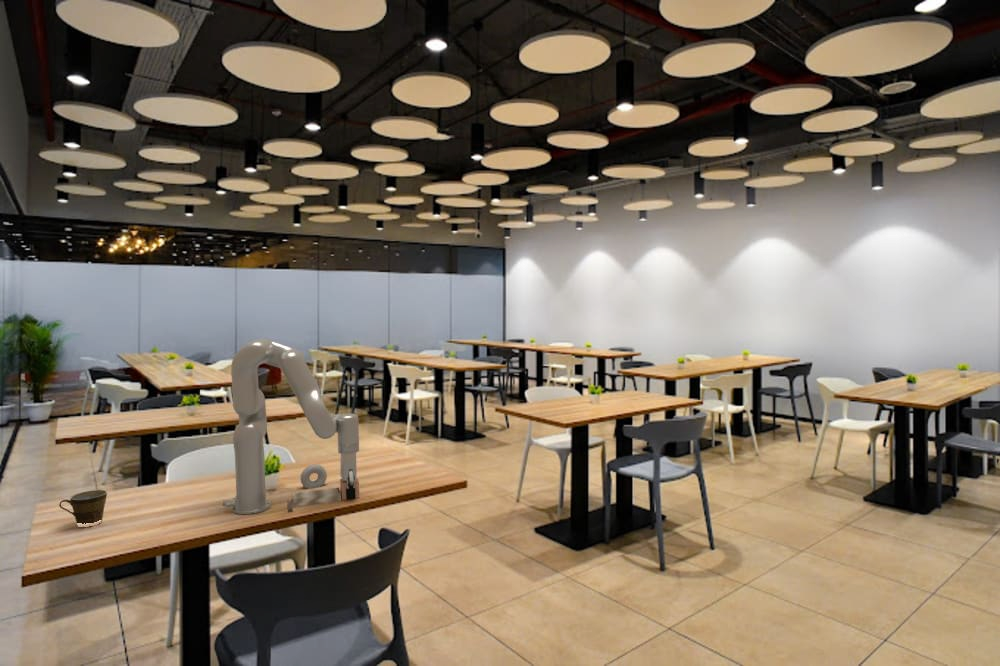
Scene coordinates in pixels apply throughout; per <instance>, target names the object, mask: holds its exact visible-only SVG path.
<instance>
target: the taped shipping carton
mask: <svg viewBox="0 0 1000 666" xmlns="http://www.w3.org/2000/svg"><path fill="white" fill-rule="evenodd" d="M348 480H350V479H349V478H348ZM339 481H340V482H339V485H340V487H339V490H340V492H341V501H344V500H345V501H346V500H347V499H346V488H347V482H346V480H345V481H343V480H342V478H340V480H339ZM354 481H355V497H356V498H355V499H359V498H360V481H359V479H358V477H357V476H356V479H355V480H354ZM348 483H349V482H348Z"/></svg>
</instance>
